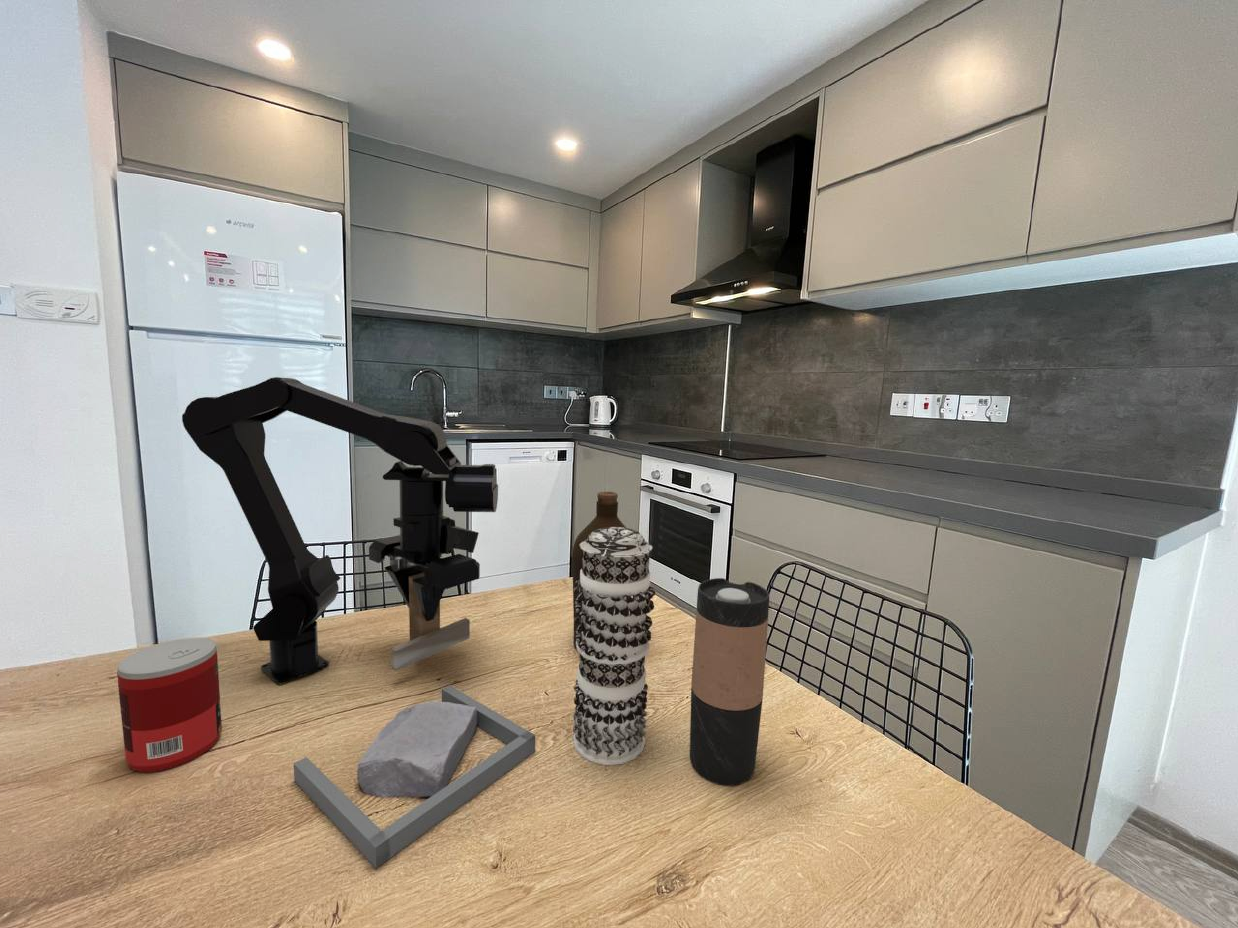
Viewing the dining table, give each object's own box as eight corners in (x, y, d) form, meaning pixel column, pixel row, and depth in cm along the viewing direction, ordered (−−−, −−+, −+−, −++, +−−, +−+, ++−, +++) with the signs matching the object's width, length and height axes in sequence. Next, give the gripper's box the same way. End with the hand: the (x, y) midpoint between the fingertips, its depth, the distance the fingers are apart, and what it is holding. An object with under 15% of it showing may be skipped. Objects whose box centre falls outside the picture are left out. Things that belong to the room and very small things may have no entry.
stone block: (350, 814, 50) (448, 801, 50) (340, 768, 50) (439, 755, 49) (405, 739, 62) (485, 728, 62) (398, 701, 62) (477, 690, 61)
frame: (294, 781, 52) (293, 763, 51) (449, 699, 66) (449, 684, 66) (376, 868, 43) (375, 847, 42) (535, 751, 57) (535, 734, 57)
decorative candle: (583, 776, 54) (590, 547, 51) (560, 724, 62) (565, 524, 59) (661, 757, 57) (672, 540, 54) (629, 709, 66) (637, 520, 63)
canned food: (238, 734, 58) (233, 644, 57) (156, 783, 51) (147, 680, 49) (193, 719, 61) (186, 631, 59) (108, 763, 53) (98, 664, 52)
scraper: (379, 660, 71) (378, 586, 69) (453, 629, 80) (453, 563, 79) (395, 671, 69) (394, 594, 67) (469, 637, 78) (470, 570, 76)
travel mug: (715, 797, 52) (728, 609, 49) (673, 750, 58) (683, 582, 56) (772, 774, 55) (786, 597, 53) (726, 732, 62) (737, 573, 59)
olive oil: (640, 659, 79) (647, 500, 75) (572, 662, 77) (576, 500, 74) (628, 628, 89) (634, 487, 86) (567, 630, 87) (571, 487, 84)
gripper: (510, 512, 73) (509, 617, 75) (433, 494, 84) (433, 585, 86) (443, 526, 64) (443, 644, 66) (365, 503, 75) (368, 605, 77)
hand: (422, 616), depth 74 cm, fingers closed on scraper, 3 cm apart
